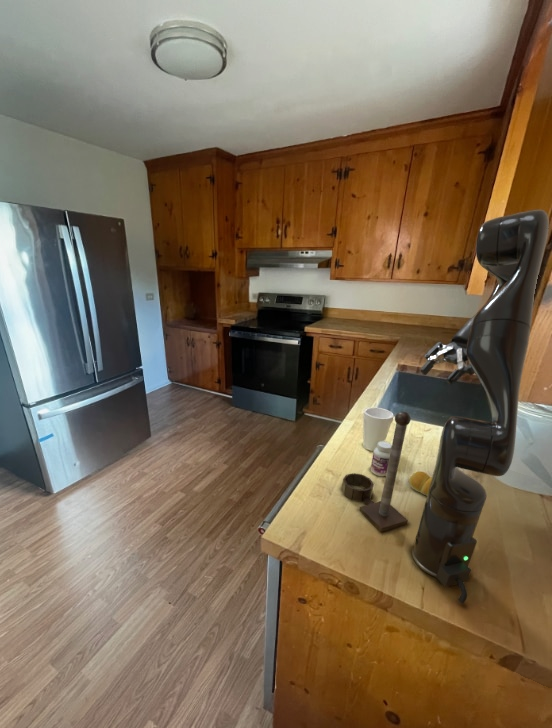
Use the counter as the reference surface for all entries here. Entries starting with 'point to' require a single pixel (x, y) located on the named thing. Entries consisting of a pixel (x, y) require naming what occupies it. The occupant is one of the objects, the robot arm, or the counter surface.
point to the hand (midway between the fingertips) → (435, 377)
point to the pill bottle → (381, 458)
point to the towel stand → (382, 511)
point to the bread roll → (420, 482)
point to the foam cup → (375, 426)
